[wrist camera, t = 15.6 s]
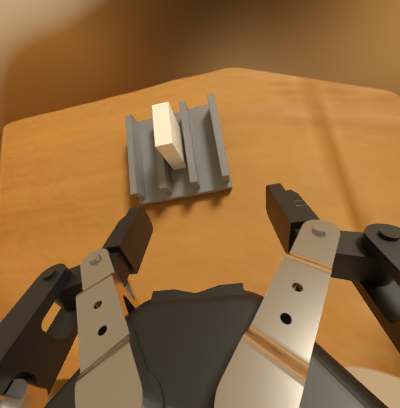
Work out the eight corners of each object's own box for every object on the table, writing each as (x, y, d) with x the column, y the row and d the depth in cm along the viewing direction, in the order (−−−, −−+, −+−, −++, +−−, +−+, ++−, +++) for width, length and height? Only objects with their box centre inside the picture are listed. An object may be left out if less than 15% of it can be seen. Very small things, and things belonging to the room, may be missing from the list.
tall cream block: (186, 167, 34) (172, 142, 25) (173, 169, 34) (155, 146, 26) (183, 135, 36) (168, 101, 27) (170, 137, 36) (151, 105, 27)
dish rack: (231, 188, 33) (232, 180, 29) (142, 205, 36) (129, 200, 31) (216, 107, 37) (214, 88, 32) (136, 127, 40) (123, 111, 35)
